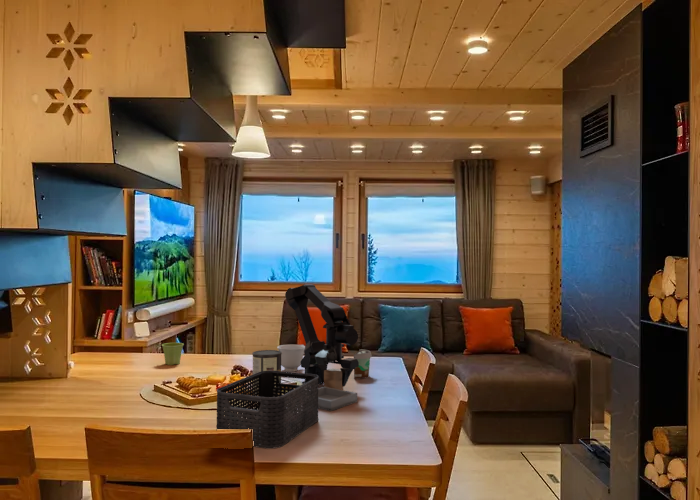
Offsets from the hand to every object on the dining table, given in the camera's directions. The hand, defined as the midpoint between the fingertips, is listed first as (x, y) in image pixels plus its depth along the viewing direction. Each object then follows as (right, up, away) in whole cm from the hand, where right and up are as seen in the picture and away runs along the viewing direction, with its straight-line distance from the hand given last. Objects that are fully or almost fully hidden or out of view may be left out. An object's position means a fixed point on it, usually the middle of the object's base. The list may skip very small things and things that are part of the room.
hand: (333, 384), depth 202 cm
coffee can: (-24, -2, -5) cm, 24 cm away
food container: (+12, -2, +22) cm, 25 cm away
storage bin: (-16, -1, -48) cm, 50 cm away
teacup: (-18, -2, +34) cm, 39 cm away
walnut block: (0, -2, 0) cm, 2 cm away
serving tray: (-1, -1, -19) cm, 19 cm away
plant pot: (-73, -2, +45) cm, 85 cm away
